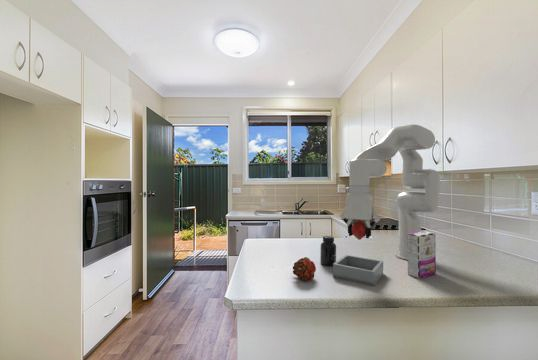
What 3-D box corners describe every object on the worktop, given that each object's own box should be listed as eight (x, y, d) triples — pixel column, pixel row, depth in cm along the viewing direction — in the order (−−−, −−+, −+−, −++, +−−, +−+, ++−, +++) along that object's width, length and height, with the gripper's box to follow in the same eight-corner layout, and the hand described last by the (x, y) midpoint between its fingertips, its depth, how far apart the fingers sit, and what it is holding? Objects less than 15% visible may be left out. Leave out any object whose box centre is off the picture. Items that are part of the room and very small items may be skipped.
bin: (346, 266, 112) (346, 254, 112) (383, 273, 104) (383, 261, 104) (332, 276, 100) (332, 263, 100) (373, 286, 91) (373, 272, 91)
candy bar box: (423, 270, 108) (424, 230, 108) (436, 274, 104) (436, 232, 104) (406, 274, 103) (406, 233, 103) (418, 278, 98) (419, 235, 98)
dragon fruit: (302, 289, 92) (302, 281, 104) (321, 276, 92) (319, 269, 104) (288, 268, 94) (290, 263, 105) (307, 255, 93) (307, 251, 105)
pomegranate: (349, 238, 104) (349, 218, 104) (362, 237, 105) (362, 217, 105) (355, 241, 99) (355, 220, 98) (369, 241, 99) (369, 220, 99)
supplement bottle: (336, 267, 111) (336, 239, 111) (320, 265, 113) (320, 238, 113) (335, 262, 118) (335, 235, 118) (320, 261, 119) (320, 234, 119)
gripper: (334, 190, 103) (334, 235, 104) (380, 191, 94) (380, 241, 94) (341, 189, 110) (341, 232, 110) (385, 190, 100) (384, 237, 100)
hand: (359, 236), depth 102 cm, fingers closed on pomegranate, 5 cm apart
